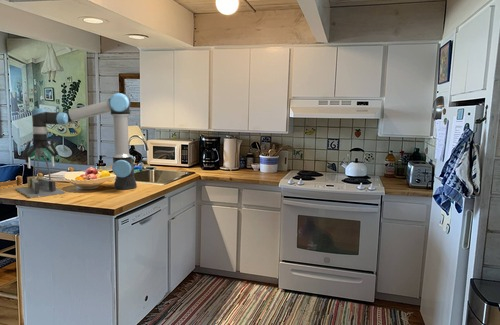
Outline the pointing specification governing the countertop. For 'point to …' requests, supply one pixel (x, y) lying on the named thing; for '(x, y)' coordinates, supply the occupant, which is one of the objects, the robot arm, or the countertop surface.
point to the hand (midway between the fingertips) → (41, 167)
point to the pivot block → (29, 180)
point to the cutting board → (42, 192)
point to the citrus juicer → (39, 153)
